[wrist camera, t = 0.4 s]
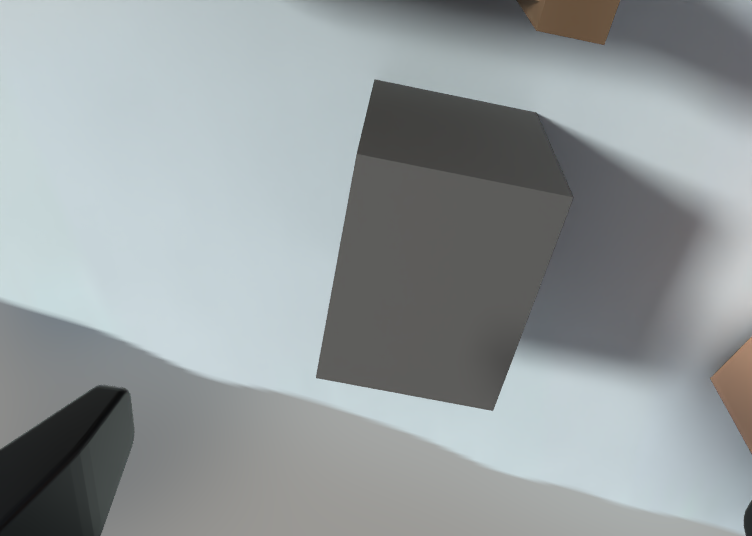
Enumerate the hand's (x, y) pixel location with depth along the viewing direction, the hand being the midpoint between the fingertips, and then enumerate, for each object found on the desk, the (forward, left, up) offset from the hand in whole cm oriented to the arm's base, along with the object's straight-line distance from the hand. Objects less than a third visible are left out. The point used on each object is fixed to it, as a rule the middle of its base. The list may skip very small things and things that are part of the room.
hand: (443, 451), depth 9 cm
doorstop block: (0, +1, -11) cm, 11 cm away
